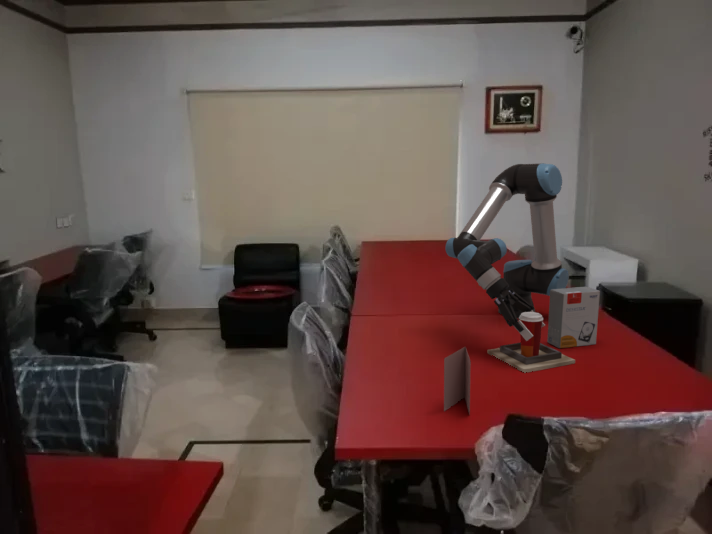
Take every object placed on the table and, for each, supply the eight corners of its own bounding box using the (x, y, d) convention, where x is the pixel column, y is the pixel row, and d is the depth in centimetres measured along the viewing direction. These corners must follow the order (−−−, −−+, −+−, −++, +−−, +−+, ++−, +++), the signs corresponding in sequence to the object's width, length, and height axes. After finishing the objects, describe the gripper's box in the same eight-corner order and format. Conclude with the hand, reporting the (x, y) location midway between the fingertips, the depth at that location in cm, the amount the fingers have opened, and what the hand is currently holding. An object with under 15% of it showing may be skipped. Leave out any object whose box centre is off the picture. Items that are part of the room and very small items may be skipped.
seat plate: (487, 353, 192) (487, 344, 191) (534, 345, 199) (535, 336, 198) (524, 373, 174) (524, 363, 173) (575, 363, 181) (575, 354, 180)
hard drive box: (559, 349, 194) (561, 293, 190) (546, 342, 201) (548, 289, 198) (597, 344, 198) (600, 290, 194) (583, 338, 205) (586, 285, 202)
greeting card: (461, 396, 158) (462, 346, 155) (485, 403, 153) (487, 351, 150) (441, 410, 149) (441, 357, 146) (465, 418, 145) (466, 363, 142)
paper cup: (537, 350, 190) (538, 311, 187) (545, 358, 182) (547, 317, 180) (514, 351, 190) (515, 311, 187) (521, 359, 182) (523, 318, 179)
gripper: (498, 283, 201) (538, 329, 196) (471, 298, 181) (516, 350, 175) (513, 270, 197) (554, 316, 192) (487, 284, 177) (533, 336, 171)
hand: (536, 332), depth 184 cm, fingers open, 13 cm apart
